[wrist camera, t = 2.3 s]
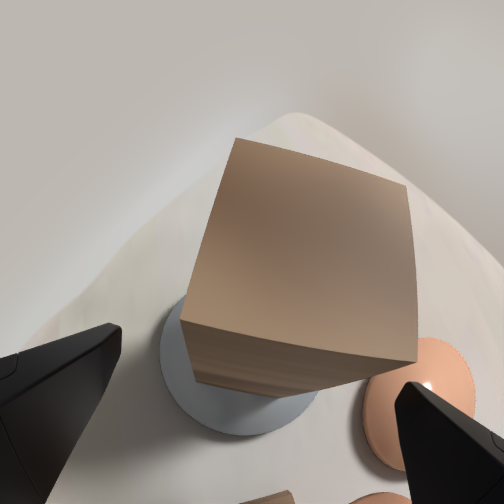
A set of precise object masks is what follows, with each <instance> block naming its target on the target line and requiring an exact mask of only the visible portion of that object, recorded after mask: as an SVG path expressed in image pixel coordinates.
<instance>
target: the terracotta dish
mask: <svg viewBox="0 0 504 504" xmlns="http://www.w3.org/2000/svg"><path fill="white" fill-rule="evenodd" d="M408 381H414V382H419V383H420V384H422V385H423V386H425V387H426V388H428V389H429V390H431V391H432V392H434V393H435V394H437V395H438V396H440V397H441V398H443V399H444V400H446V401H447V402H449V403H450V404H451V405H453V406H454V407H456V408H457V409H459V410H460V411H462V412H463V413H465V414H466V415H468V416H469V417H471V418H472V419H473V418H474V413H475V402H476V396H475V386H474V381H473V377H472V374H471V371H470V369H469V367H468V365H467V363H466V361H465V360H464V358H463V357H462V356H461V354H460V353H459V352H458V351H457V350H456V349H455V348H454V347H452V346H451V345H450V344H448V343H446V342H444V341H442V340H439V339H435V338H420V339H418V360H417V363H414V364H411V365H408V366H405V367H402V368H399V369H396V370H392V371H389V372H386V373H383V374H379V375H376V376H372V377H371V378H370V380H369V382H368V385H367V388H366V392H365V396H364V401H363V426H364V431H365V435H366V438H367V441H368V443H369V445H370V447H371V449H372V451H373V452H374V453H375V455H376V456H377V457H378V458H379V459H380V460H381V461H382V462H383V463H385V464H386V465H388V466H389V467H392V468H394V469H397V470H402V471H405V466H404V462H403V457H402V453H401V449H400V444H399V437H398V430H397V422H396V415H395V409H394V403H395V400H396V398H397V396H398V394H399V393H400V391H401V389H402V388H403V386H404V384H405V383H406V382H408Z"/></svg>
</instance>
